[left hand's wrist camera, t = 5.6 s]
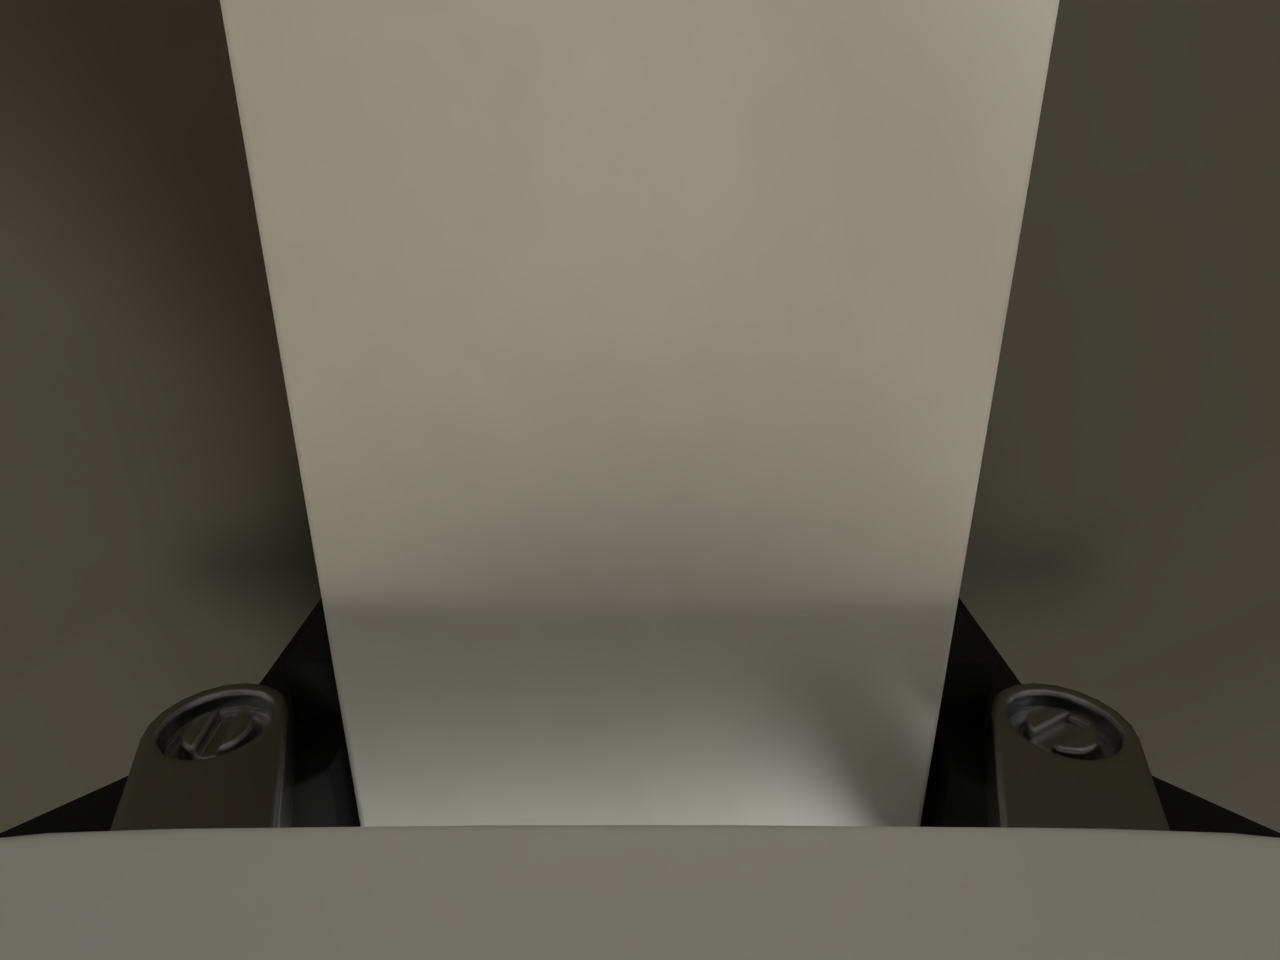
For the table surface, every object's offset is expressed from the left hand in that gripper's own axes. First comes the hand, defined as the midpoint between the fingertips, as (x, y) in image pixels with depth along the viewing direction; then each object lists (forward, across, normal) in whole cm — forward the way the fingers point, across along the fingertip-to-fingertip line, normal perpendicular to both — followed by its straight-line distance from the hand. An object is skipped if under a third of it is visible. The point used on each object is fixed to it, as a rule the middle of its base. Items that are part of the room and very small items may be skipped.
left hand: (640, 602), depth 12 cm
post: (+2, 0, -25) cm, 25 cm away
